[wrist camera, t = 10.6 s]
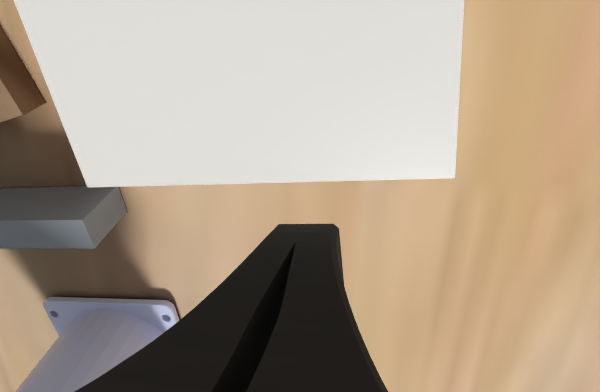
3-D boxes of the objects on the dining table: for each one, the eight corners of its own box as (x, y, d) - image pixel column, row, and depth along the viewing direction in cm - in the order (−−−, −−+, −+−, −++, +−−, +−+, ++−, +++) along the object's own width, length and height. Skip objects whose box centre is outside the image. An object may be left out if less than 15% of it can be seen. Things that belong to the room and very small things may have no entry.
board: (448, 154, 19) (454, 178, 17) (111, 166, 22) (87, 187, 20) (466, -247, 13) (478, -272, 11) (-2, -153, 16) (-50, -161, 14)
